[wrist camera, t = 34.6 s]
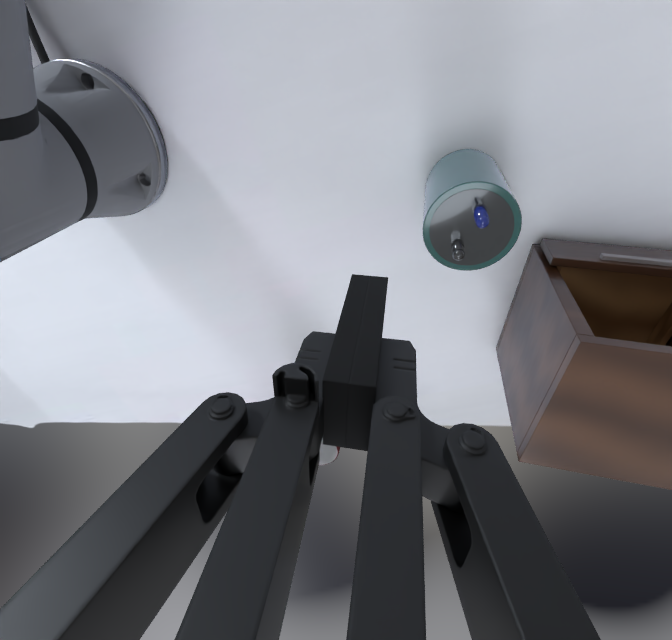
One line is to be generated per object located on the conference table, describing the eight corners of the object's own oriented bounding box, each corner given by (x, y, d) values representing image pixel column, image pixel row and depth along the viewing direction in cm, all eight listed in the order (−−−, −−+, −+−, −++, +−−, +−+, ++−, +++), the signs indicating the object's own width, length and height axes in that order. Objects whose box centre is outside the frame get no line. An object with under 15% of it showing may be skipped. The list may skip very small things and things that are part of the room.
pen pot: (418, 161, 36) (412, 207, 26) (497, 138, 33) (524, 179, 23) (432, 229, 39) (432, 293, 29) (504, 212, 37) (531, 276, 27)
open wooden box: (532, 243, 38) (580, 341, 26) (711, 261, 36) (863, 379, 23) (495, 348, 46) (518, 461, 34) (638, 368, 44) (721, 499, 31)
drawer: (543, 234, 36) (554, 253, 33) (722, 250, 34) (754, 273, 31) (503, 345, 45) (509, 368, 41) (645, 364, 42) (663, 391, 39)
